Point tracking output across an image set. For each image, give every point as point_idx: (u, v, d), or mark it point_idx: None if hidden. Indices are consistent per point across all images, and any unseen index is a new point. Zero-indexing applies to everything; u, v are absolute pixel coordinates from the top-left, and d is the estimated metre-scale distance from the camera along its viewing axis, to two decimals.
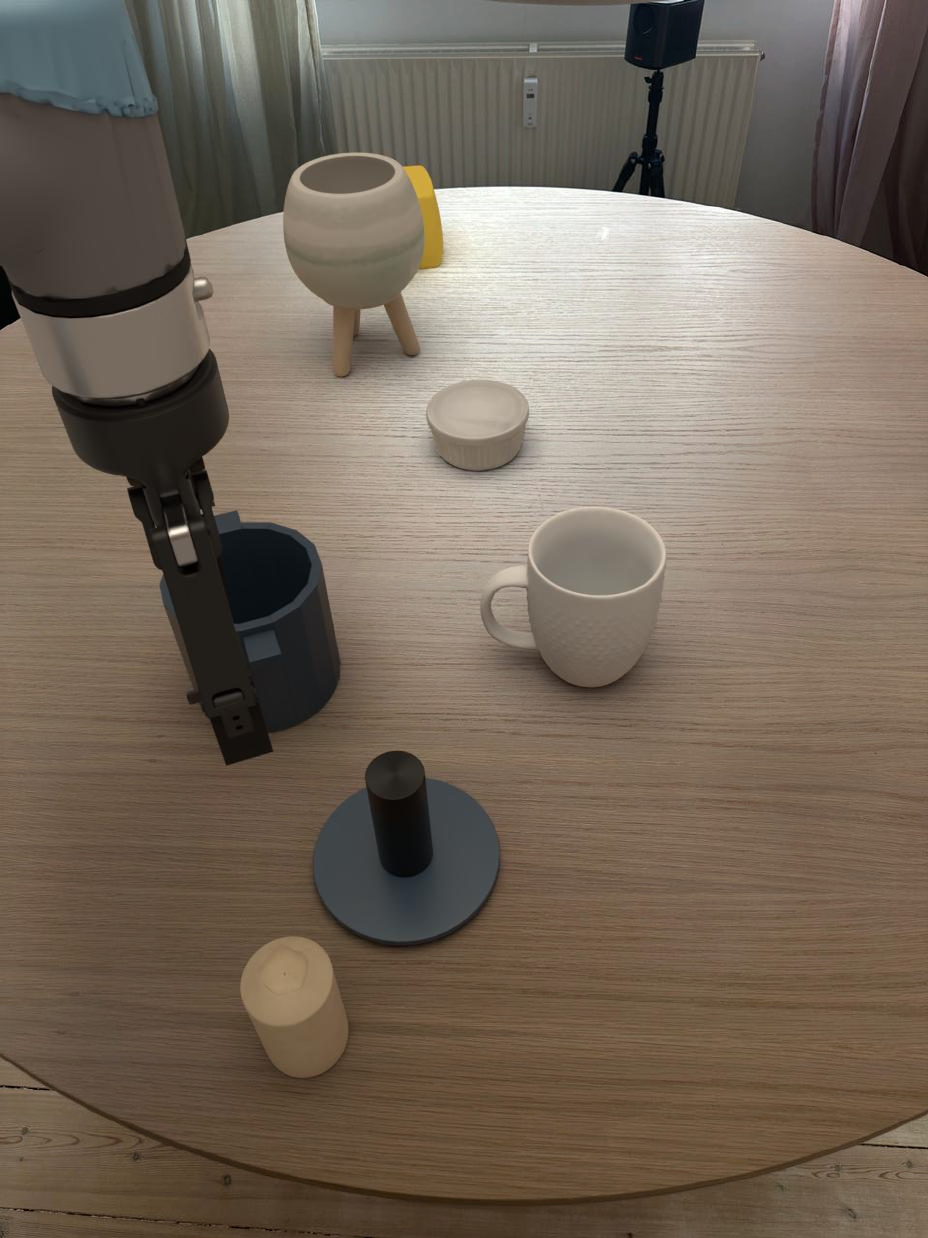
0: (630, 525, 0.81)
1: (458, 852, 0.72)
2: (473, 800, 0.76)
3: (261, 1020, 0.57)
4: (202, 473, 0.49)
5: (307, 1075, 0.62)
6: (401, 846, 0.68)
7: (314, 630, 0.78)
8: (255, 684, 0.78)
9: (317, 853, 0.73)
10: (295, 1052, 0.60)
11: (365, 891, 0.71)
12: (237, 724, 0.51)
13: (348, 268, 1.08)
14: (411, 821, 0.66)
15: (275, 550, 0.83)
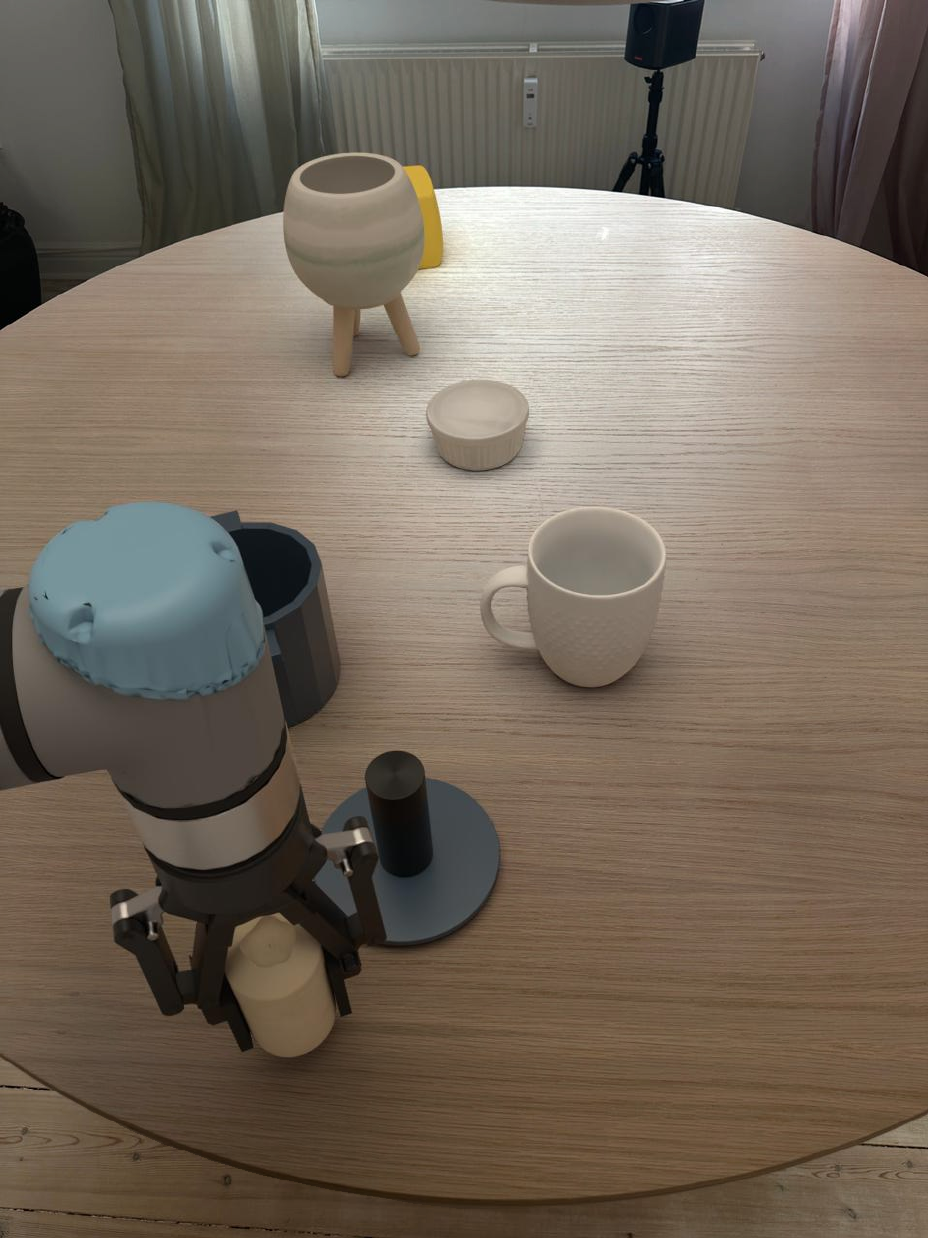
0: (630, 525, 0.81)
1: (458, 852, 0.72)
2: (473, 800, 0.76)
3: (245, 993, 0.54)
4: None
5: (292, 1054, 0.60)
6: (401, 846, 0.68)
7: (314, 630, 0.78)
8: None
9: None
10: (280, 1029, 0.57)
11: None
12: None
13: (348, 268, 1.08)
14: (411, 821, 0.66)
15: (275, 550, 0.83)
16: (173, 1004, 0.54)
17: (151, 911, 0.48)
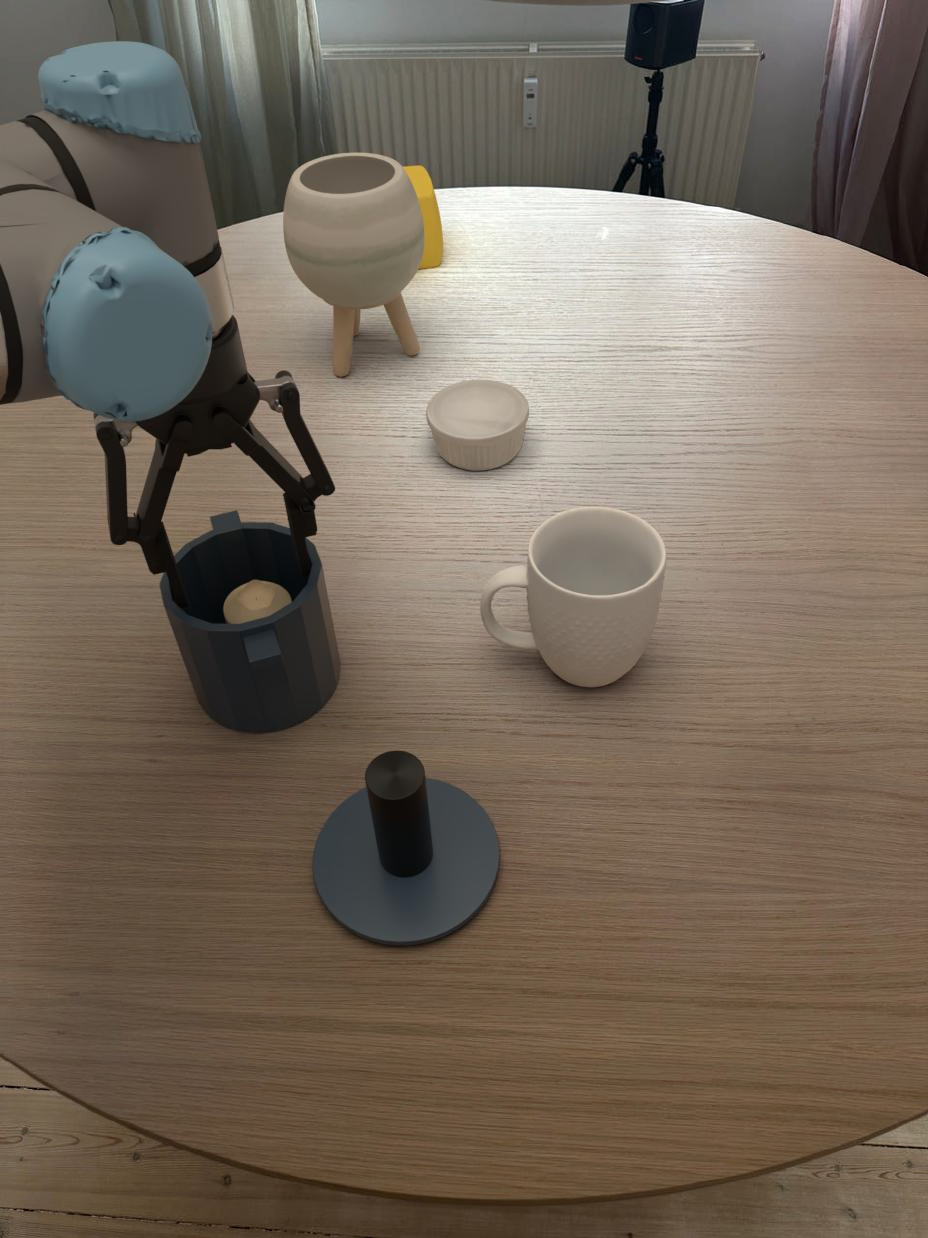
0: (630, 525, 0.81)
1: (458, 852, 0.72)
2: (473, 800, 0.76)
3: None
4: None
5: None
6: (401, 846, 0.68)
7: (314, 630, 0.78)
8: (255, 684, 0.78)
9: (317, 853, 0.73)
10: None
11: (365, 891, 0.71)
12: None
13: (348, 268, 1.08)
14: (411, 821, 0.66)
15: (275, 550, 0.83)
16: (121, 531, 0.70)
17: (126, 422, 0.65)
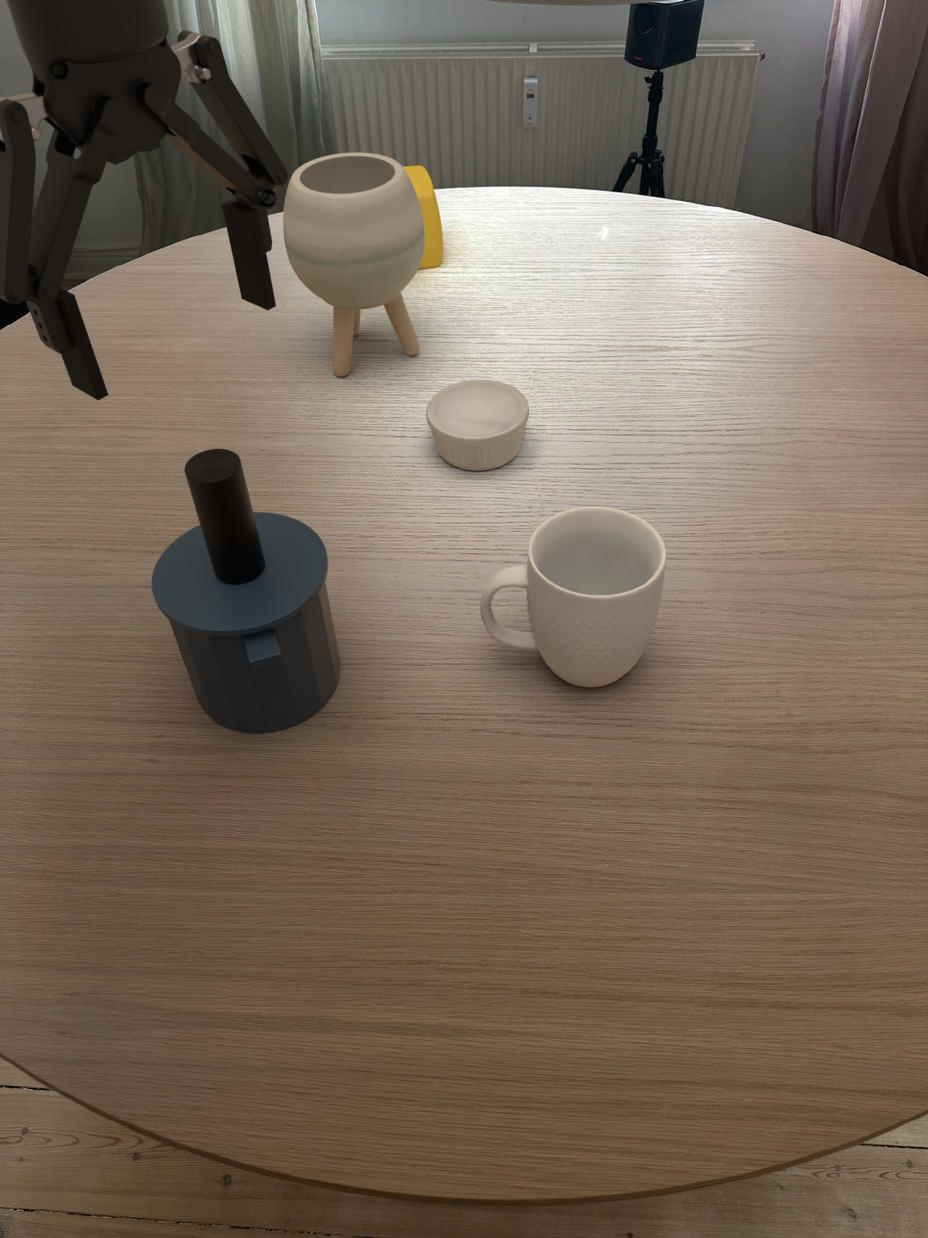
0: (630, 525, 0.81)
1: (288, 566, 0.77)
2: (309, 528, 0.81)
3: None
4: None
5: None
6: (225, 543, 0.73)
7: (314, 630, 0.78)
8: (255, 684, 0.78)
9: (157, 568, 0.78)
10: None
11: (197, 595, 0.75)
12: None
13: (348, 268, 1.08)
14: (230, 513, 0.71)
15: None
16: (18, 281, 0.52)
17: (34, 107, 0.50)
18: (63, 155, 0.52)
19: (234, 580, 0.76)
